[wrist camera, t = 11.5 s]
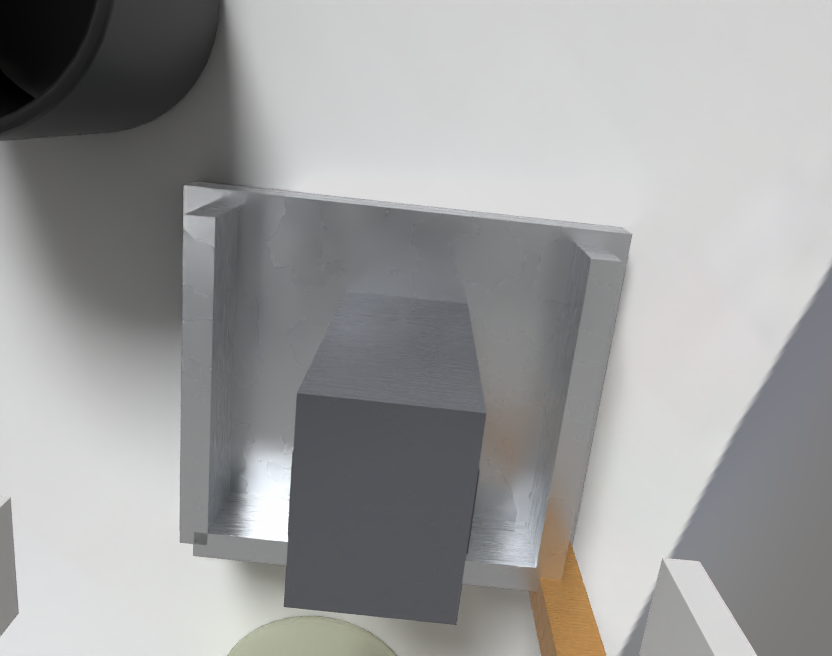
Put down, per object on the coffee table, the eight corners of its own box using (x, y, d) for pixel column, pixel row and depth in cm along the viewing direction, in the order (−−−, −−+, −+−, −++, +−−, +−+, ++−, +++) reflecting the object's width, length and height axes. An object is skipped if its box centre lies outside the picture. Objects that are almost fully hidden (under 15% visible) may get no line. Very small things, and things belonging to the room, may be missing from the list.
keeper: (191, 510, 31) (20, 794, 18) (196, 181, 27) (-18, 247, 14) (561, 549, 31) (649, 858, 18) (621, 227, 27) (790, 335, 14)
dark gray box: (331, 438, 28) (279, 606, 19) (343, 290, 27) (292, 392, 17) (451, 451, 28) (459, 625, 19) (470, 304, 27) (490, 413, 17)
